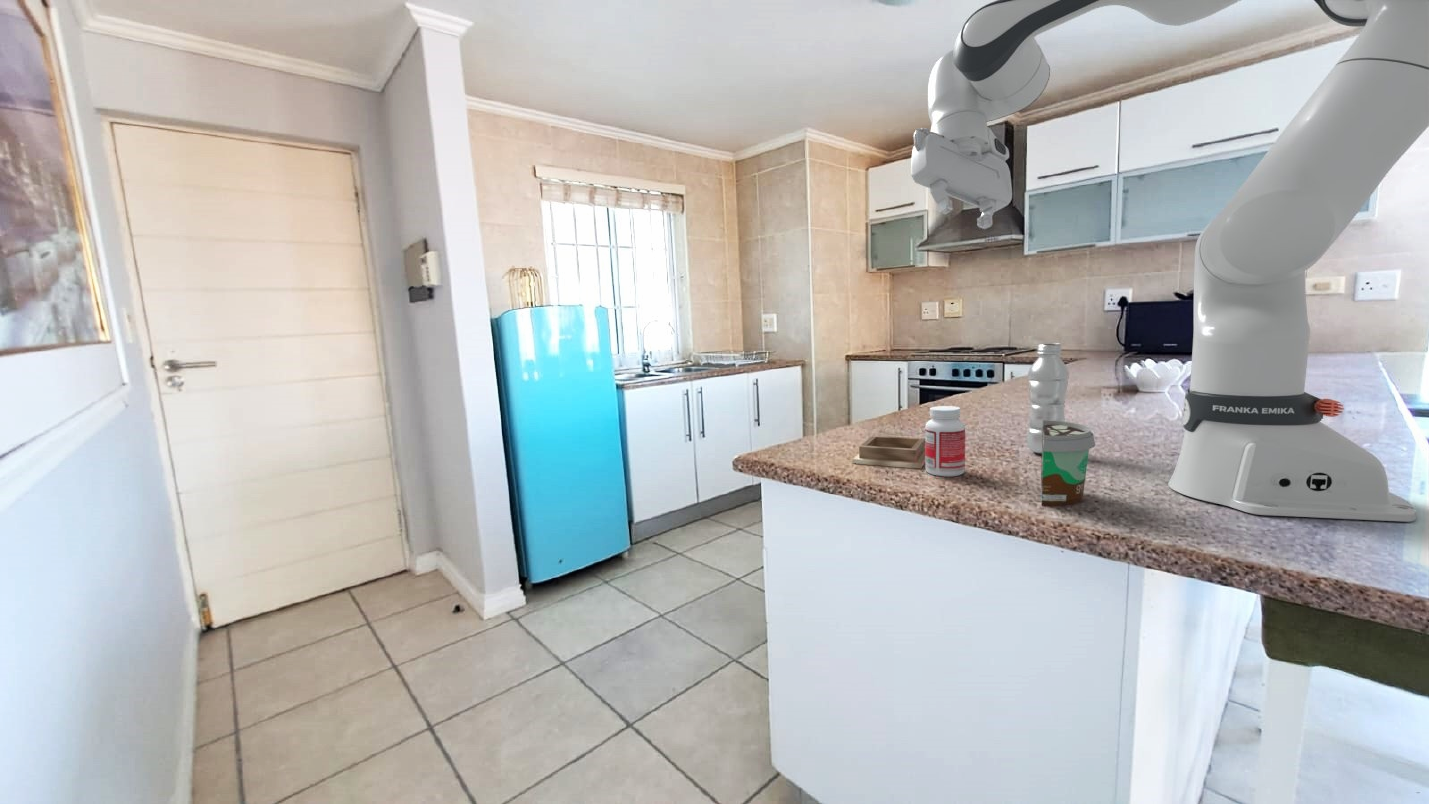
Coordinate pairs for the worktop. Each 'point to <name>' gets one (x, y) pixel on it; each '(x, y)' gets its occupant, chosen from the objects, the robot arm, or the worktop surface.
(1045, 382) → the plastic bottle
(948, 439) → the pill bottle
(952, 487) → the worktop surface
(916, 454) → the brown wooden square tray
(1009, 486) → the worktop surface
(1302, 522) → the worktop surface
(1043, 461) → the food container
